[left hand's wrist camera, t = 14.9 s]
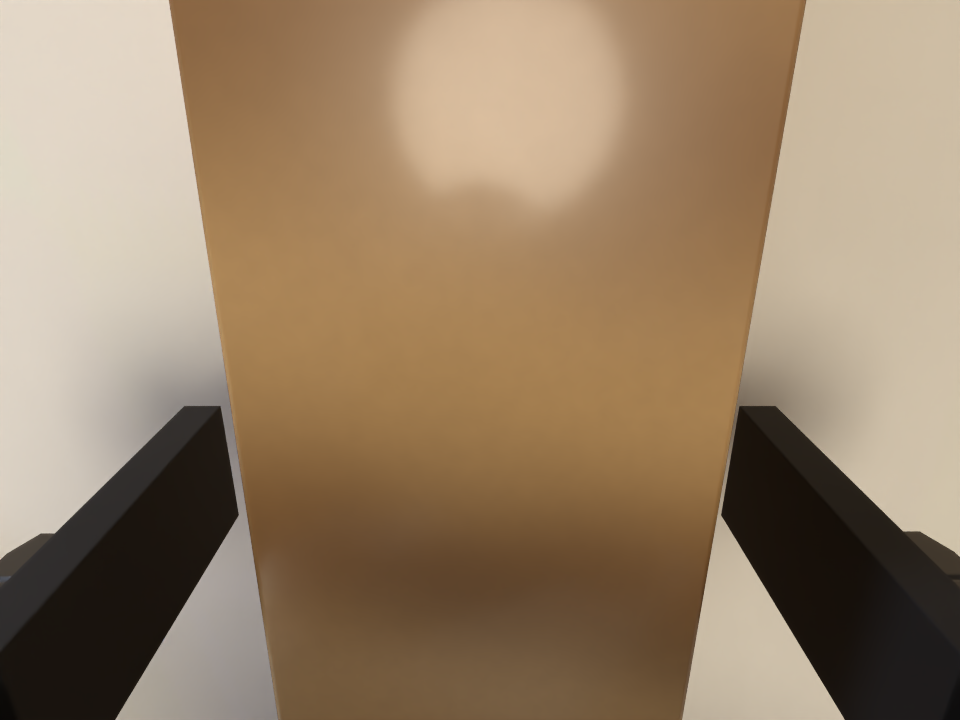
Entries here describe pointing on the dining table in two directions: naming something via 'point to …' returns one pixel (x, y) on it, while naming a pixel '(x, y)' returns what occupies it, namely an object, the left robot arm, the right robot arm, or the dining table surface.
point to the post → (484, 333)
